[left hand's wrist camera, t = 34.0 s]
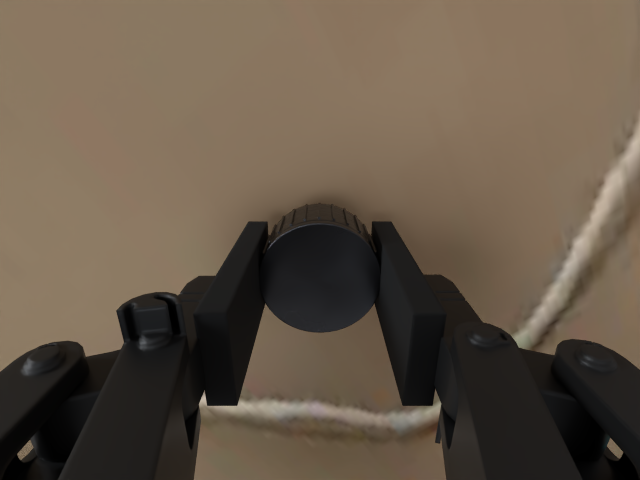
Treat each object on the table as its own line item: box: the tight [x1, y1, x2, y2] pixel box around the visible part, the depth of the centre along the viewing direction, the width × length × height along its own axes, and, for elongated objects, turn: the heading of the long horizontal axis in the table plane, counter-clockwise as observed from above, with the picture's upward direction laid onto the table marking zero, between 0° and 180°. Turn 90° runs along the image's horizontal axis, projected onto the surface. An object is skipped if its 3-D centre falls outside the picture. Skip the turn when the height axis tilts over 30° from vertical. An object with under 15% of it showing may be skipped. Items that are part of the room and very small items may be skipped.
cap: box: [259, 203, 381, 332], centre depth 13 cm, size 4×4×2 cm
